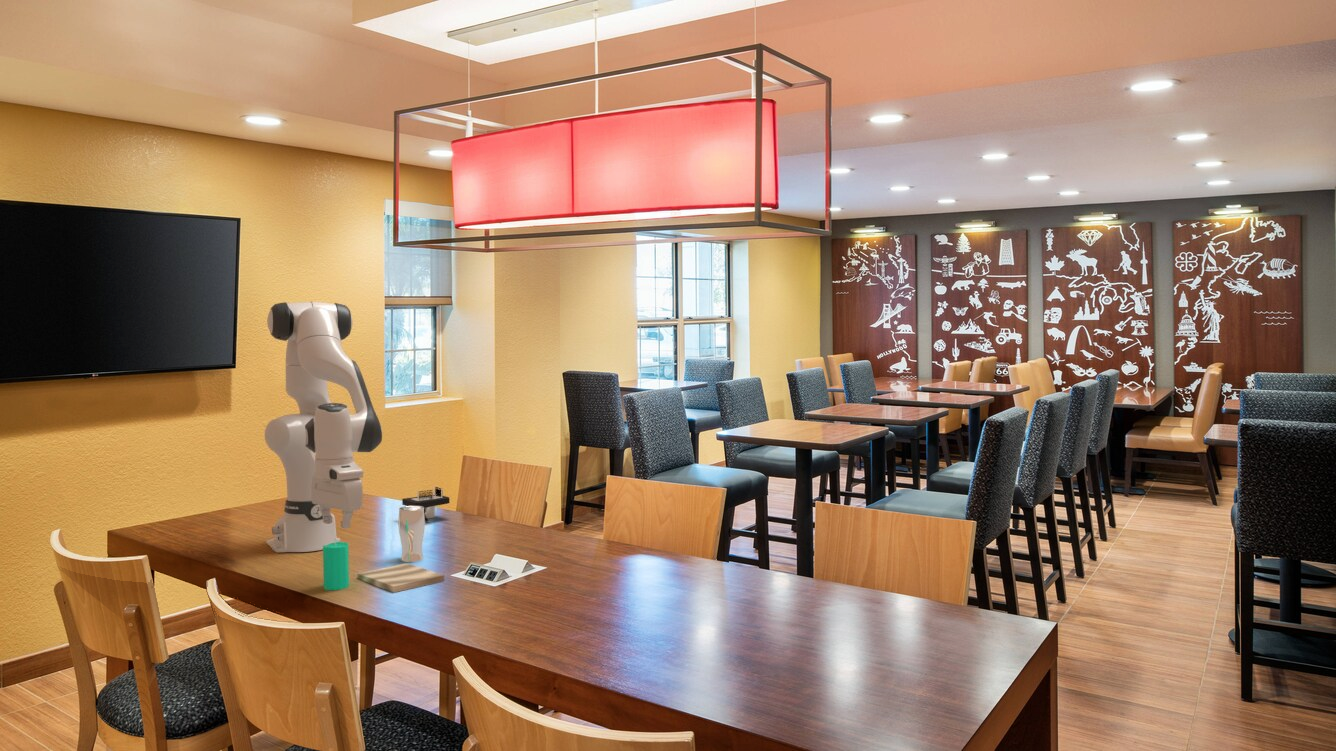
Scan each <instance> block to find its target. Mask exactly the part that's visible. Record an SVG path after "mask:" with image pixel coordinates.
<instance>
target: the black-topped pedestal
mask: <svg viewBox="0 0 1336 751" xmlns="http://www.w3.org/2000/svg"><path fill="white" fill-rule="evenodd" d="M401 504H402V506H404V507H405V506H423V507H424V516H425V524H426V523H427V524H428V523H429V522H430V520H429V519H434V518H435V517H436V516H435V515H436V513H435V512H436V510H435V509H436V506H437V507H438V506H442V505H448V504H450V496H446V495H443V488H442V487H437V486H435V485H434V488H432V489H429V490H428V489H427V490H426V491H425V490H421V491H420V490H417V496H415V497H414V496H413V497H405V498H402V503H401Z"/></svg>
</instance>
